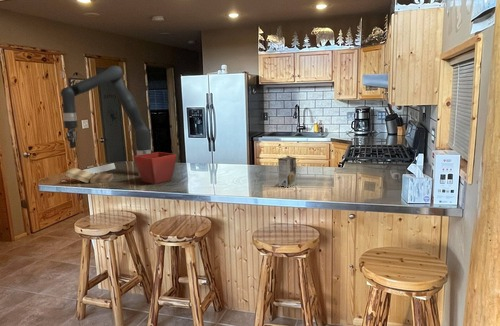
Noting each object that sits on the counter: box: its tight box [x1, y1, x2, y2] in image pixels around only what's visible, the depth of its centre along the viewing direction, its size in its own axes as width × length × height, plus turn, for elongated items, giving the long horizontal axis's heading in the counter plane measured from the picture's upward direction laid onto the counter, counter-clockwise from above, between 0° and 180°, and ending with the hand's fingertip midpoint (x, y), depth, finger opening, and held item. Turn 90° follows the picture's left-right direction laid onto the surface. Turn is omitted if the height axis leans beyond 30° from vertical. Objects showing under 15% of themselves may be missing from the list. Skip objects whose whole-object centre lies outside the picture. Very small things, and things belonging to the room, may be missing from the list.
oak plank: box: [64, 167, 96, 184], centre depth 233 cm, size 14×14×3 cm
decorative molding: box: [82, 162, 116, 175], centre depth 265 cm, size 34×5×10 cm
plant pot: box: [133, 151, 177, 185], centre depth 227 cm, size 19×19×17 cm
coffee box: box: [277, 156, 297, 188], centre depth 207 cm, size 9×6×16 cm
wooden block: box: [89, 173, 114, 184], centre depth 235 cm, size 11×14×3 cm
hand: (73, 147), depth 229 cm, fingers open, 2 cm apart
